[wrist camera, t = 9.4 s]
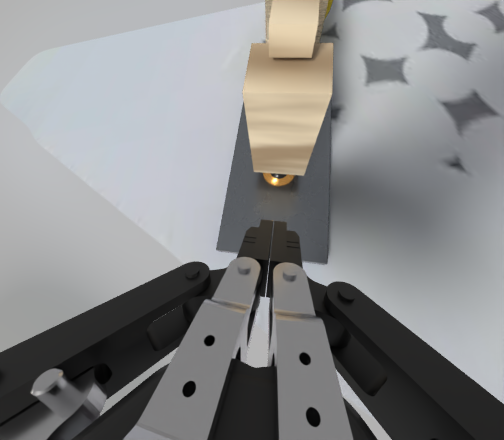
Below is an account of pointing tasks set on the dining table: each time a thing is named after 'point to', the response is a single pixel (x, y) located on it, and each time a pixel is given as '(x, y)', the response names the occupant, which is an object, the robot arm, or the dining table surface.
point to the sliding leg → (287, 89)
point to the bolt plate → (280, 188)
